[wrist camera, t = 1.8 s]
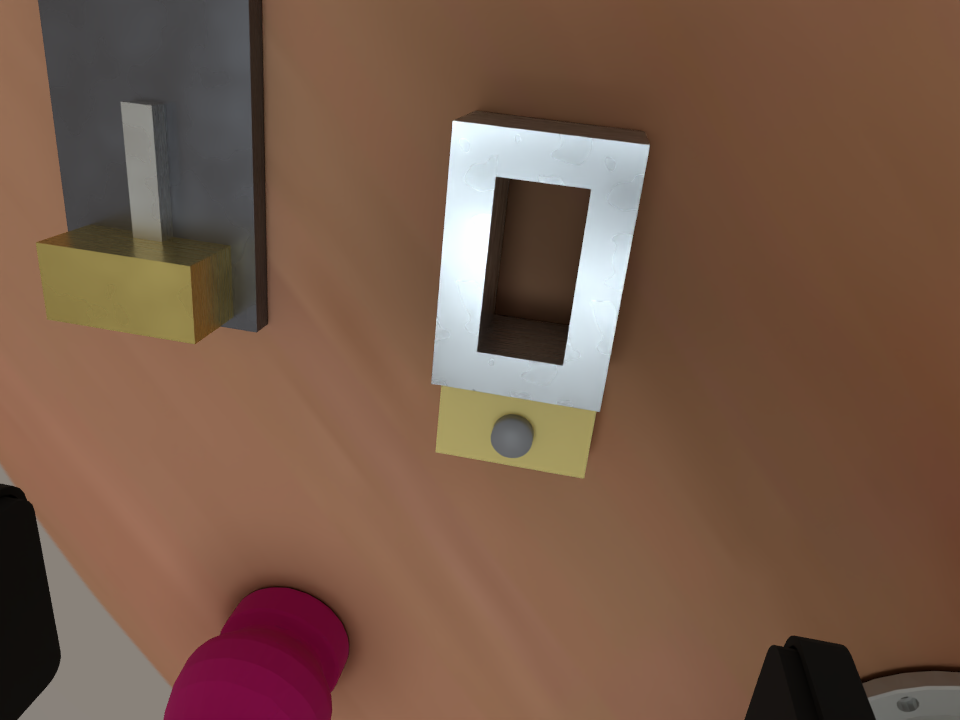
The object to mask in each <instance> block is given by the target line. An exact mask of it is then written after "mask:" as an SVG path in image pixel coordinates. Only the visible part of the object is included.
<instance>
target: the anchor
mask: <svg viewBox="0 0 960 720" xmlns="http://www.w3.org/2000/svg"><path fill="white" fill-rule="evenodd" d="M595 416H596V411H591V410H585V409H579V408H573V407H567V406H561V405H555V404H549V403H544V402H538V401H532V400H526V399H520V398H514V397H508V396H502V395H496V394H490V393H484V392H478V391H472V390H466V389H460V388H454V387H448V386H442V385H441V395H440V407H439V418H438V429H437V441H436V452H438V453H443V454H449V455H455V456H460V457H466V458H471V459H477V460H483V461H488V462H494V463H499V464H505V465H510V466H516V467H522V468H527V469H533V470H538V471H544V472H550V473H555V474H561V475H566V476H572V477H578V478H583V479H584V475H585V470H586V465H587V459H588V454H589V449H590V443H591V438H592V432H593V427H594V422H595Z"/></svg>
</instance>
